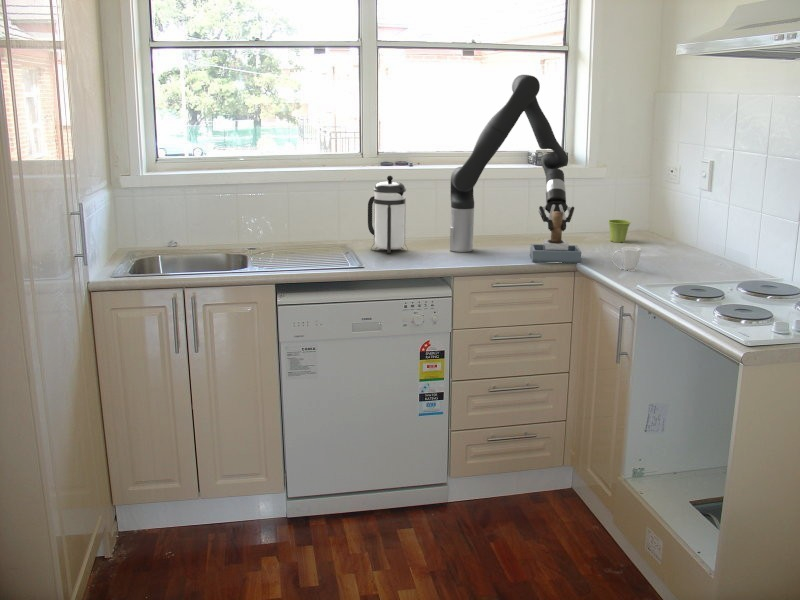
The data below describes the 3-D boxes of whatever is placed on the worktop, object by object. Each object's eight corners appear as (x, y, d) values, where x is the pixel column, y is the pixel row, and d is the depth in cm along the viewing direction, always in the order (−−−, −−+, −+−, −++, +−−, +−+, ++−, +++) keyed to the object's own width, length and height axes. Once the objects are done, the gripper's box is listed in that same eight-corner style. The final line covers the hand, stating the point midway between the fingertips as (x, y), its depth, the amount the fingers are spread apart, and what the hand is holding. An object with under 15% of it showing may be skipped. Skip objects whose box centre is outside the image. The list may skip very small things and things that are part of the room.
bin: (532, 262, 300) (533, 250, 299) (529, 255, 312) (530, 244, 311) (580, 263, 298) (581, 252, 297) (576, 256, 311) (576, 245, 310)
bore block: (544, 259, 301) (545, 243, 300) (542, 254, 309) (543, 239, 308) (567, 259, 300) (568, 244, 299) (564, 254, 309) (565, 239, 307)
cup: (639, 272, 285) (641, 250, 283) (611, 271, 287) (612, 249, 285) (639, 268, 292) (641, 247, 289) (611, 266, 294) (612, 245, 292)
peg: (551, 244, 302) (552, 212, 299) (550, 242, 306) (551, 211, 302) (561, 244, 302) (563, 213, 298) (560, 242, 305) (562, 211, 302)
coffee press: (409, 246, 326) (410, 173, 319) (406, 254, 311) (407, 178, 303) (368, 245, 328) (367, 172, 320) (362, 253, 313) (362, 177, 305)
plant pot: (630, 240, 344) (632, 220, 342) (627, 244, 336) (629, 223, 333) (608, 238, 348) (609, 218, 345) (605, 242, 339) (606, 222, 337)
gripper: (538, 187, 306) (539, 224, 297) (575, 187, 305) (577, 224, 296) (536, 199, 312) (537, 235, 304) (573, 199, 311) (575, 235, 303)
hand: (557, 229), depth 300 cm, fingers closed on peg, 4 cm apart
